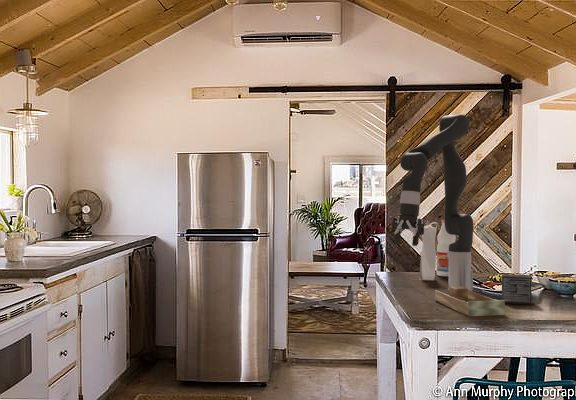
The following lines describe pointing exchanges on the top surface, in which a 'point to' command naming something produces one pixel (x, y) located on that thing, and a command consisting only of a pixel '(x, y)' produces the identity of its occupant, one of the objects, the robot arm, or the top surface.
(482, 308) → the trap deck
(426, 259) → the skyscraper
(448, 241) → the fruit juice
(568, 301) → the top surface
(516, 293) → the small box
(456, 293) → the walnut block
